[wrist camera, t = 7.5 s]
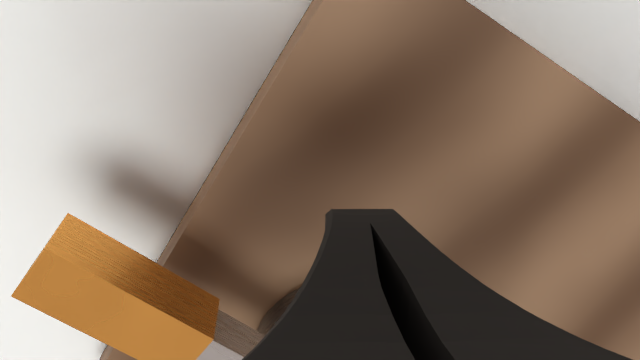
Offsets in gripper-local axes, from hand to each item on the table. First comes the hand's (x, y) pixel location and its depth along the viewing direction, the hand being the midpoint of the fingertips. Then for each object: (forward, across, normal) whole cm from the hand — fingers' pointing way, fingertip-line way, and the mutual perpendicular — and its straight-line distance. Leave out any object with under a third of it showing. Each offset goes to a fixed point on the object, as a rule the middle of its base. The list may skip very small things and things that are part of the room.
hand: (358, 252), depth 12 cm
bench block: (+9, -4, +7) cm, 13 cm away
